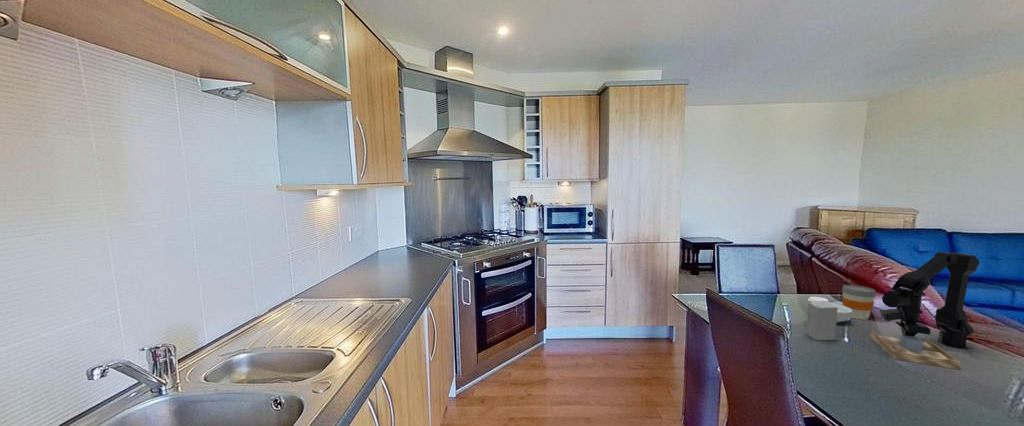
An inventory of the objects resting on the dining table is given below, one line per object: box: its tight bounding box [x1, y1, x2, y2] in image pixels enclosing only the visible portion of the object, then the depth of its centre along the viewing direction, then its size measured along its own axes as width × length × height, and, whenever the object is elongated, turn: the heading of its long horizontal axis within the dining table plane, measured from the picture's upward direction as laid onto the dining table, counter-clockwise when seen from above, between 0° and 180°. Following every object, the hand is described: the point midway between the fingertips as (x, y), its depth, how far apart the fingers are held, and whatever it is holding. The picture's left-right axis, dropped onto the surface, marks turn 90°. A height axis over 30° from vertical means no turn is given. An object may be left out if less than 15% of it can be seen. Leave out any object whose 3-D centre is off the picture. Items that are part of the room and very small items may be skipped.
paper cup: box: [807, 296, 830, 303], centre depth 172 cm, size 8×8×14 cm
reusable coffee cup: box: [841, 284, 876, 320], centre depth 184 cm, size 13×13×15 cm
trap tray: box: [870, 330, 961, 370], centre depth 146 cm, size 18×22×3 cm
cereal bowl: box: [829, 302, 853, 324], centre depth 181 cm, size 17×17×7 cm
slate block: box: [900, 334, 924, 352], centre depth 146 cm, size 4×4×4 cm
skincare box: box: [805, 301, 838, 341], centre depth 159 cm, size 8×7×16 cm
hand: (906, 341), depth 149 cm, fingers closed
